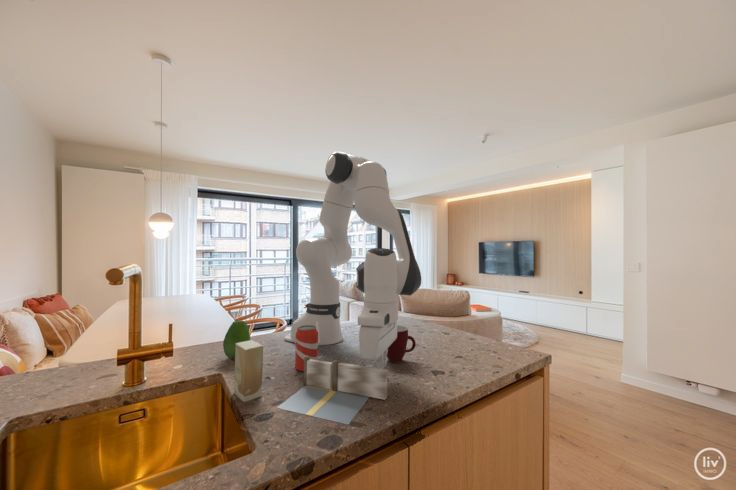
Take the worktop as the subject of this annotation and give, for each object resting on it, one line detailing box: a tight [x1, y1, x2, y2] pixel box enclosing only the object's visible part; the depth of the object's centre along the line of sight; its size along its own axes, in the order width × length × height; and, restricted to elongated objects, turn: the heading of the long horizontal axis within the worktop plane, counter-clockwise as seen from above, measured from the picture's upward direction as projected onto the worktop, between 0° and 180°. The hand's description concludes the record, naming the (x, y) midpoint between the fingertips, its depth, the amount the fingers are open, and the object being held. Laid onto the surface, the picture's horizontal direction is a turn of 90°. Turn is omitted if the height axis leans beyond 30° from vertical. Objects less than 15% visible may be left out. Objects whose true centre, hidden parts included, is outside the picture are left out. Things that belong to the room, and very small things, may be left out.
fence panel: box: [338, 362, 388, 401], centre depth 71 cm, size 12×1×6 cm, turn 69°
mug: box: [386, 324, 417, 363], centre depth 95 cm, size 11×8×10 cm
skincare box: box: [233, 339, 264, 403], centre depth 71 cm, size 6×4×12 cm
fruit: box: [222, 319, 251, 361], centre depth 95 cm, size 8×8×12 cm
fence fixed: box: [303, 356, 339, 391], centre depth 75 cm, size 9×1×7 cm, turn 69°
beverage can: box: [294, 325, 319, 372], centre depth 87 cm, size 6×6×12 cm
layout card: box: [276, 385, 370, 426], centre depth 69 cm, size 17×15×1 cm
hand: (381, 366), depth 76 cm, fingers closed
